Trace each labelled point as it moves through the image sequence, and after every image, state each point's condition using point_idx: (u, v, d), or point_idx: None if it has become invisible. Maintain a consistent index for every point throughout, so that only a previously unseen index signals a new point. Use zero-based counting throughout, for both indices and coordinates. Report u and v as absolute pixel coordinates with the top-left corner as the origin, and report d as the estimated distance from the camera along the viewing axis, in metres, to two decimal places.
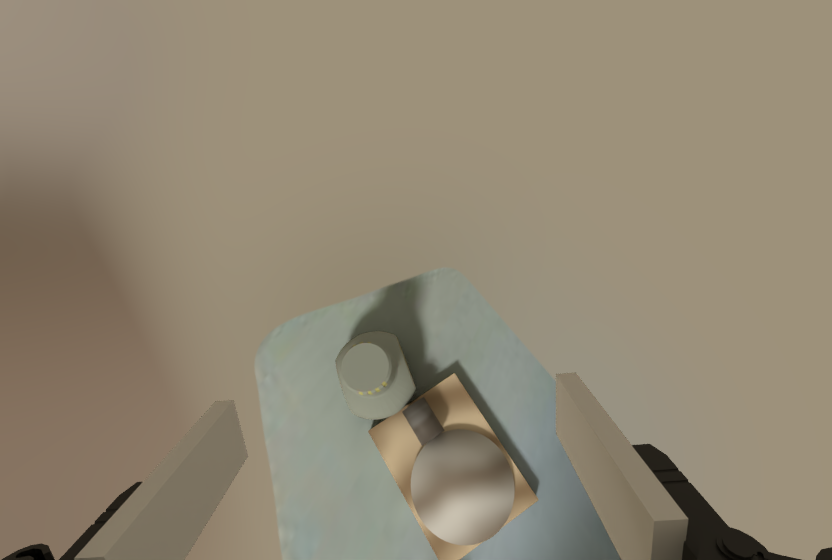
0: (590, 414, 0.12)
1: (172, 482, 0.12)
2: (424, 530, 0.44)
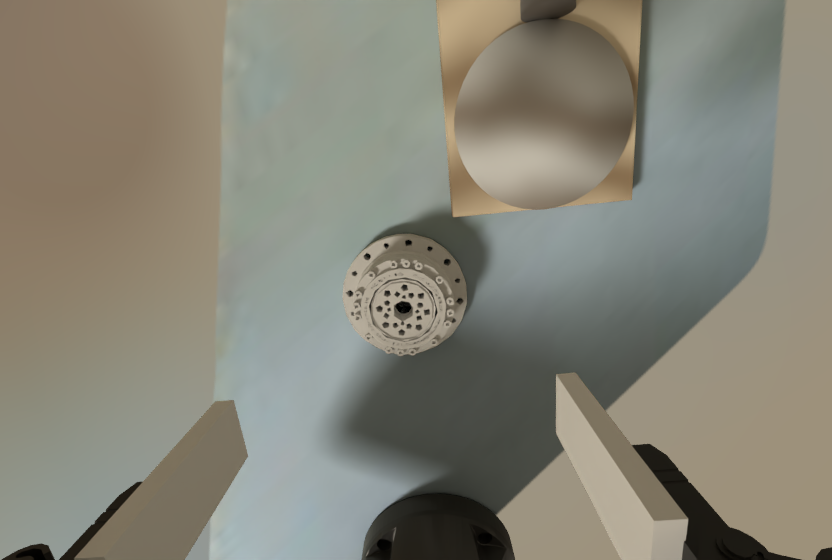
0: (590, 414, 0.12)
1: (172, 482, 0.12)
2: (451, 155, 0.27)
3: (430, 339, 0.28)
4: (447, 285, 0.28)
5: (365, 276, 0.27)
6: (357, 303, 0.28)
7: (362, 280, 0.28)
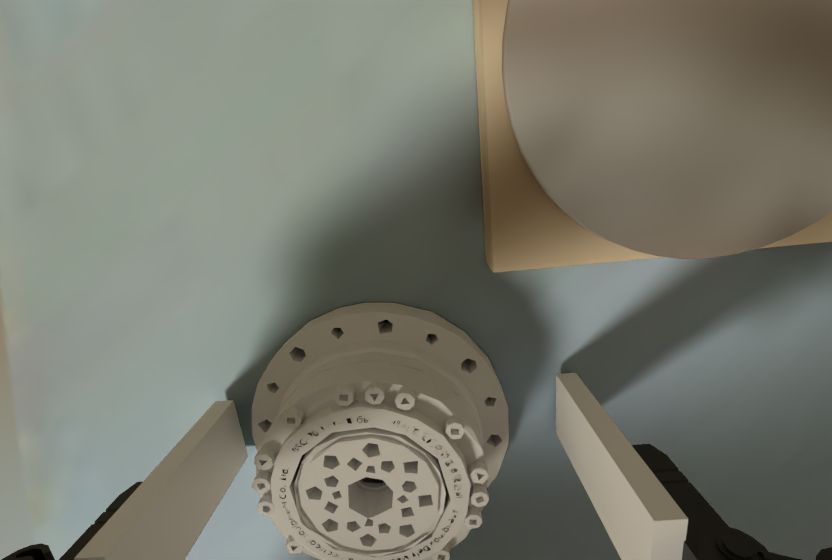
0: (590, 414, 0.12)
1: (172, 482, 0.12)
2: (493, 131, 0.11)
3: (434, 551, 0.13)
4: (473, 438, 0.12)
5: (280, 419, 0.12)
6: (264, 478, 0.12)
7: (274, 427, 0.12)
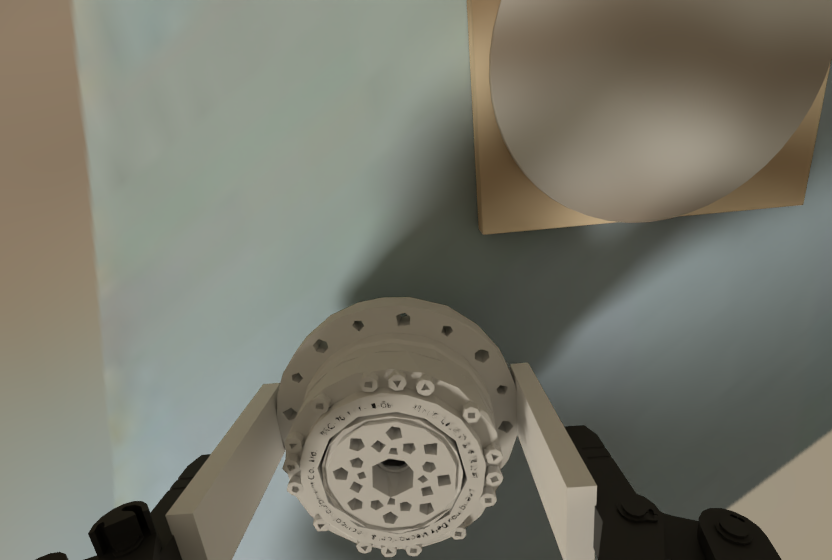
0: (532, 399, 0.13)
1: (238, 453, 0.13)
2: (482, 124, 0.15)
3: (451, 528, 0.13)
4: (488, 422, 0.13)
5: (309, 405, 0.13)
6: (293, 460, 0.13)
7: (303, 413, 0.13)
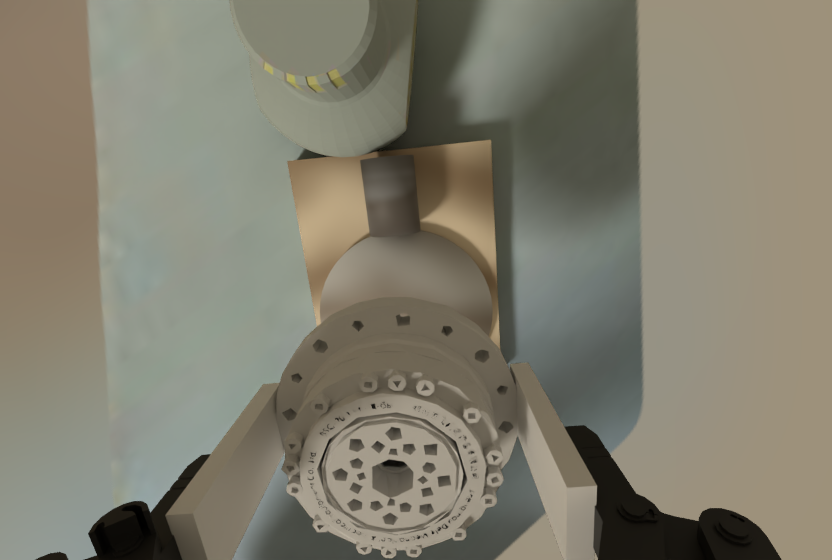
0: (532, 399, 0.13)
1: (238, 453, 0.13)
2: None
3: (451, 528, 0.13)
4: (488, 422, 0.13)
5: (308, 405, 0.12)
6: (293, 461, 0.13)
7: (302, 413, 0.13)
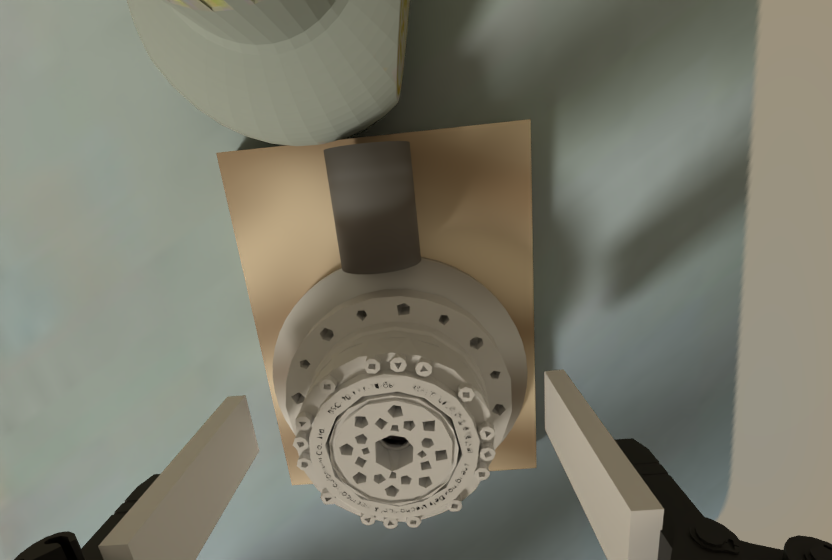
0: (575, 409, 0.13)
1: (189, 474, 0.12)
2: (279, 414, 0.19)
3: (448, 500, 0.15)
4: (481, 401, 0.14)
5: (317, 386, 0.14)
6: (303, 438, 0.14)
7: (311, 393, 0.14)
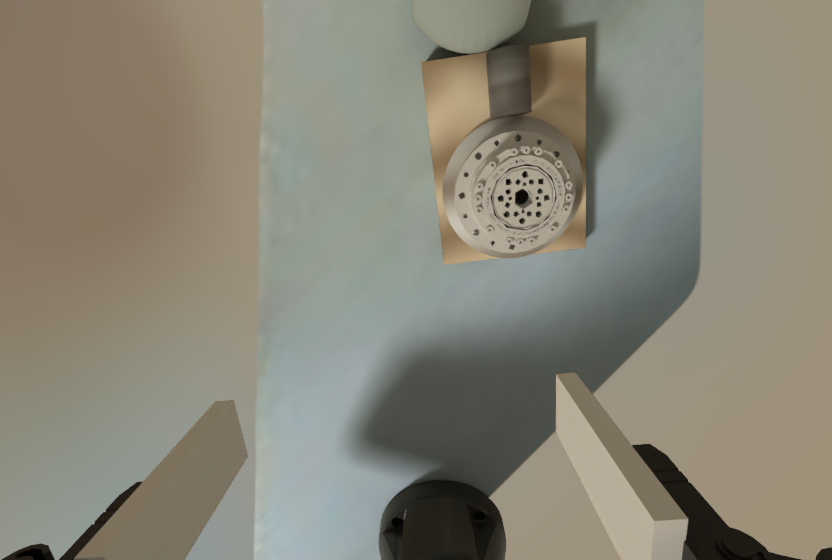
0: (590, 414, 0.12)
1: (172, 482, 0.12)
2: (441, 217, 0.34)
3: (549, 226, 0.30)
4: (565, 170, 0.29)
5: (485, 168, 0.29)
6: (479, 195, 0.29)
7: (482, 172, 0.29)
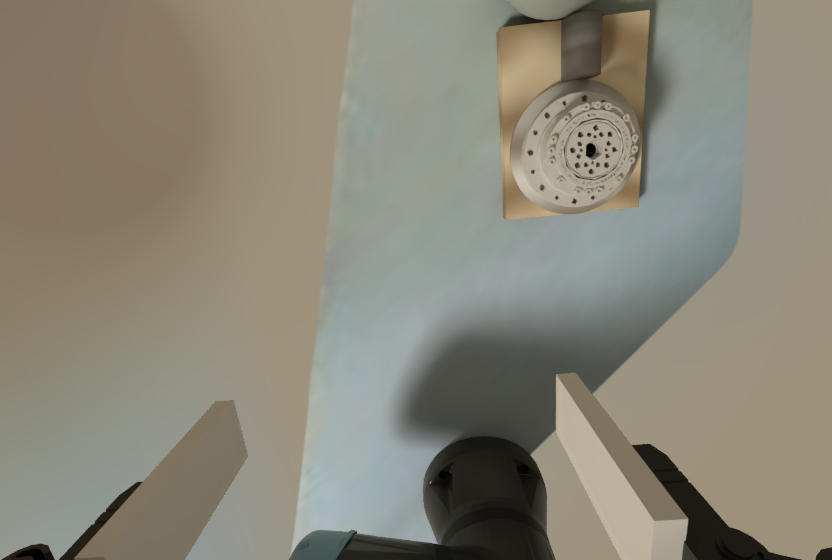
0: (590, 414, 0.12)
1: (172, 482, 0.12)
2: (506, 174, 0.37)
3: (615, 177, 0.32)
4: (631, 124, 0.32)
5: (559, 122, 0.32)
6: (552, 147, 0.32)
7: (556, 126, 0.32)
